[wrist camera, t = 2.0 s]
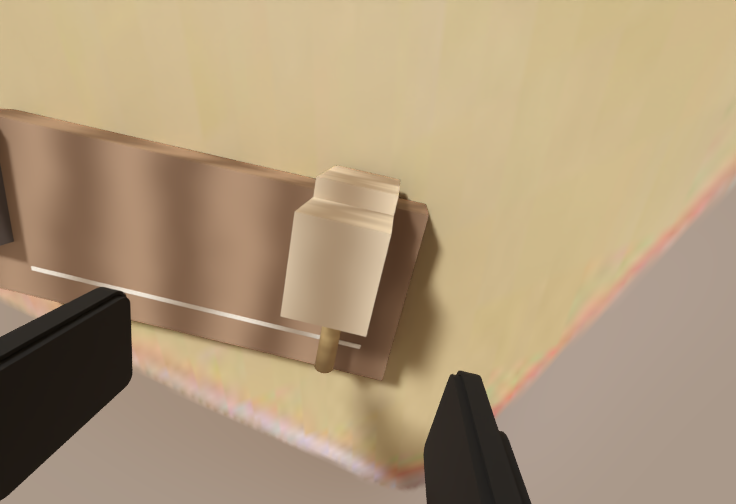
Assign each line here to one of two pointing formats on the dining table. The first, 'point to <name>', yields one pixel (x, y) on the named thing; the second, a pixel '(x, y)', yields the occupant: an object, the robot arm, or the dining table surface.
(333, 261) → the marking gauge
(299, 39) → the dining table surface
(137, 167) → the walnut board
